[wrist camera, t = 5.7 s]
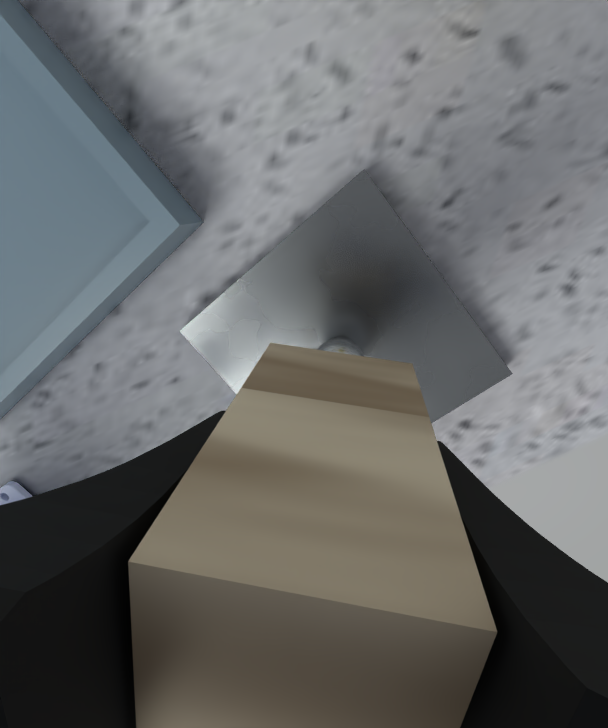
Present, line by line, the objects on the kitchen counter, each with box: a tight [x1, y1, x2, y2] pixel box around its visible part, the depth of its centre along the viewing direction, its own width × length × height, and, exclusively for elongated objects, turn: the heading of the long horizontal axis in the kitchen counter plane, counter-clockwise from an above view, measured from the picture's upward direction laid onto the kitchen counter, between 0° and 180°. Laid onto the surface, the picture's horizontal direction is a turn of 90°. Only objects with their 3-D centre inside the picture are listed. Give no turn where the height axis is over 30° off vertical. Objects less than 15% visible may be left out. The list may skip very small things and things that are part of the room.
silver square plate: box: [179, 170, 512, 423], centre depth 17 cm, size 10×10×4 cm
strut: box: [128, 343, 497, 728], centre depth 9 cm, size 4×4×8 cm
